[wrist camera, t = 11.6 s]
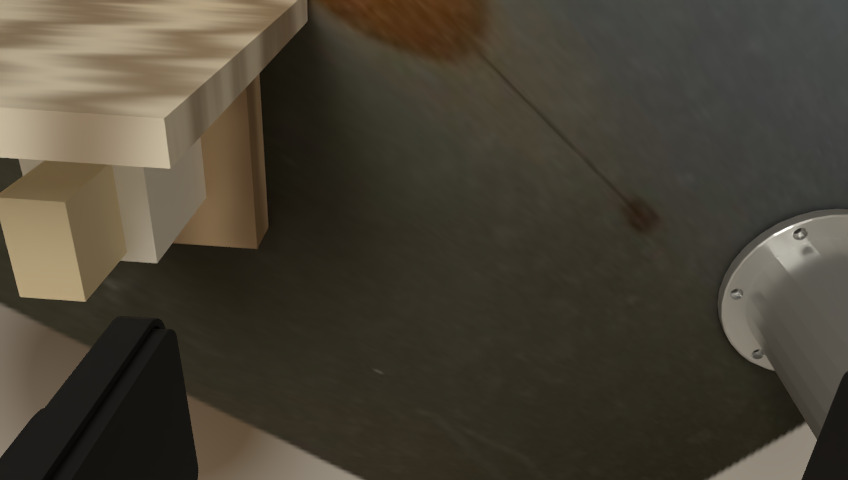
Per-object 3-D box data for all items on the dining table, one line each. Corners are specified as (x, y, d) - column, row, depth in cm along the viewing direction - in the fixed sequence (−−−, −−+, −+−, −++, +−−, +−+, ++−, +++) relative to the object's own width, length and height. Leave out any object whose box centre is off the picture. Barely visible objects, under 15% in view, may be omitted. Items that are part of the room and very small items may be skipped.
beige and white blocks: (189, 31, 38) (81, 100, 27) (206, 197, 43) (120, 313, 32) (80, 23, 38) (-72, 90, 27) (109, 190, 43) (-10, 303, 32)
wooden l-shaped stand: (307, -8, 40) (164, 118, 21) (312, 230, 47) (211, 487, 28) (-7, -28, 40) (-438, 78, 21) (47, 212, 48) (-234, 454, 28)
